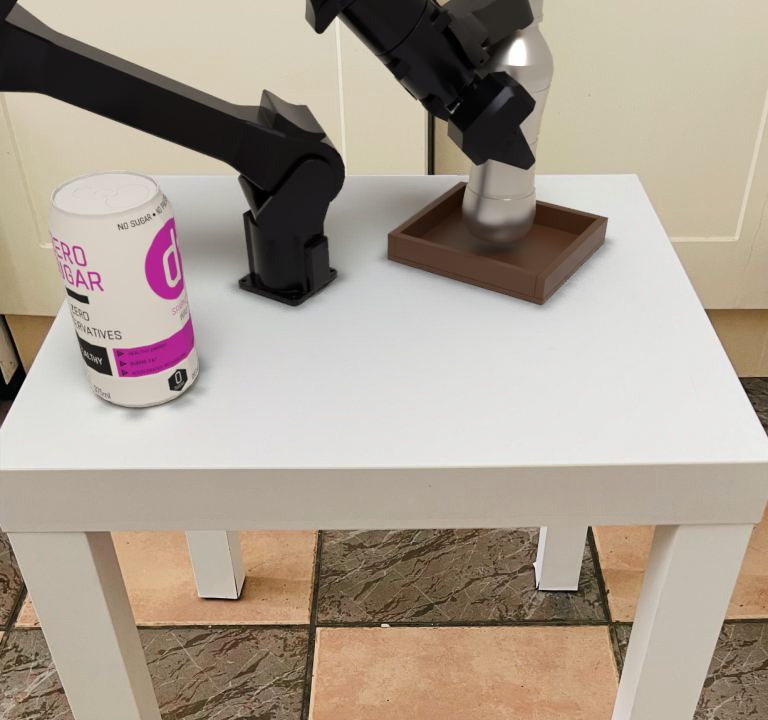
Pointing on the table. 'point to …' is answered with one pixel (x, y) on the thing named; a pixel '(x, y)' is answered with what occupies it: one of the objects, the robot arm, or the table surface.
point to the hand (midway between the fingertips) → (518, 152)
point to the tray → (499, 247)
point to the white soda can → (124, 286)
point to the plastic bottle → (508, 183)
